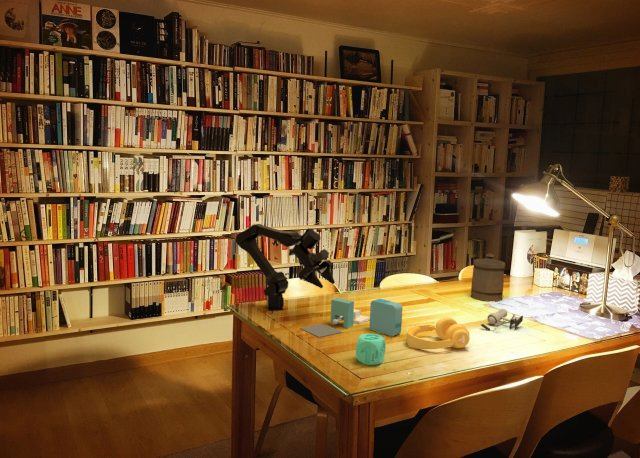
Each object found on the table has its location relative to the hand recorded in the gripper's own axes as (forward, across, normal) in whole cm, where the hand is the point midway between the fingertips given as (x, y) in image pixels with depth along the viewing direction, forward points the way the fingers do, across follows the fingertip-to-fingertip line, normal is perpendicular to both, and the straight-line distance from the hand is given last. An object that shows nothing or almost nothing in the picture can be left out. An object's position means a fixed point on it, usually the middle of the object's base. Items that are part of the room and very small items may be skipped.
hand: (328, 285), depth 223 cm
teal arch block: (+16, -2, +5) cm, 17 cm away
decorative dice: (+35, -30, -12) cm, 48 cm away
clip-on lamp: (+55, +35, -29) cm, 72 cm away
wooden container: (+42, +80, -18) cm, 92 cm away
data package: (+29, 0, -6) cm, 30 cm away
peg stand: (+16, +2, +5) cm, 17 cm away
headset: (+45, -1, -20) cm, 49 cm away
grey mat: (+14, -13, +7) cm, 20 cm away
